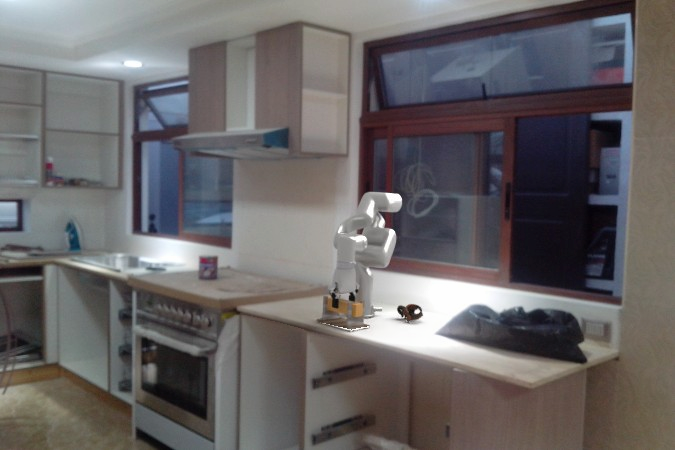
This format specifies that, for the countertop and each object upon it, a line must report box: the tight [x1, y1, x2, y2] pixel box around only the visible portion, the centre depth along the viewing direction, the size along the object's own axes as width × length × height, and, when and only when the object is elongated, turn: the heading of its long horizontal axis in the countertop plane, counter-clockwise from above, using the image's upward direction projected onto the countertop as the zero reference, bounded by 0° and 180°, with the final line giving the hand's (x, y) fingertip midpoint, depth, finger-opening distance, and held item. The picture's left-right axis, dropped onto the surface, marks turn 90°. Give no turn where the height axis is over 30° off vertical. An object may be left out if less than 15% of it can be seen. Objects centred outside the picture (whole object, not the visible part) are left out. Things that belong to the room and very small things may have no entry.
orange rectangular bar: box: [327, 296, 363, 317], centre depth 264 cm, size 18×4×5 cm, turn 45°
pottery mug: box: [396, 303, 424, 322], centre depth 279 cm, size 12×10×8 cm
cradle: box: [316, 294, 370, 330], centre depth 264 cm, size 20×11×11 cm, turn 45°
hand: (343, 306), depth 264 cm, fingers open, 9 cm apart
